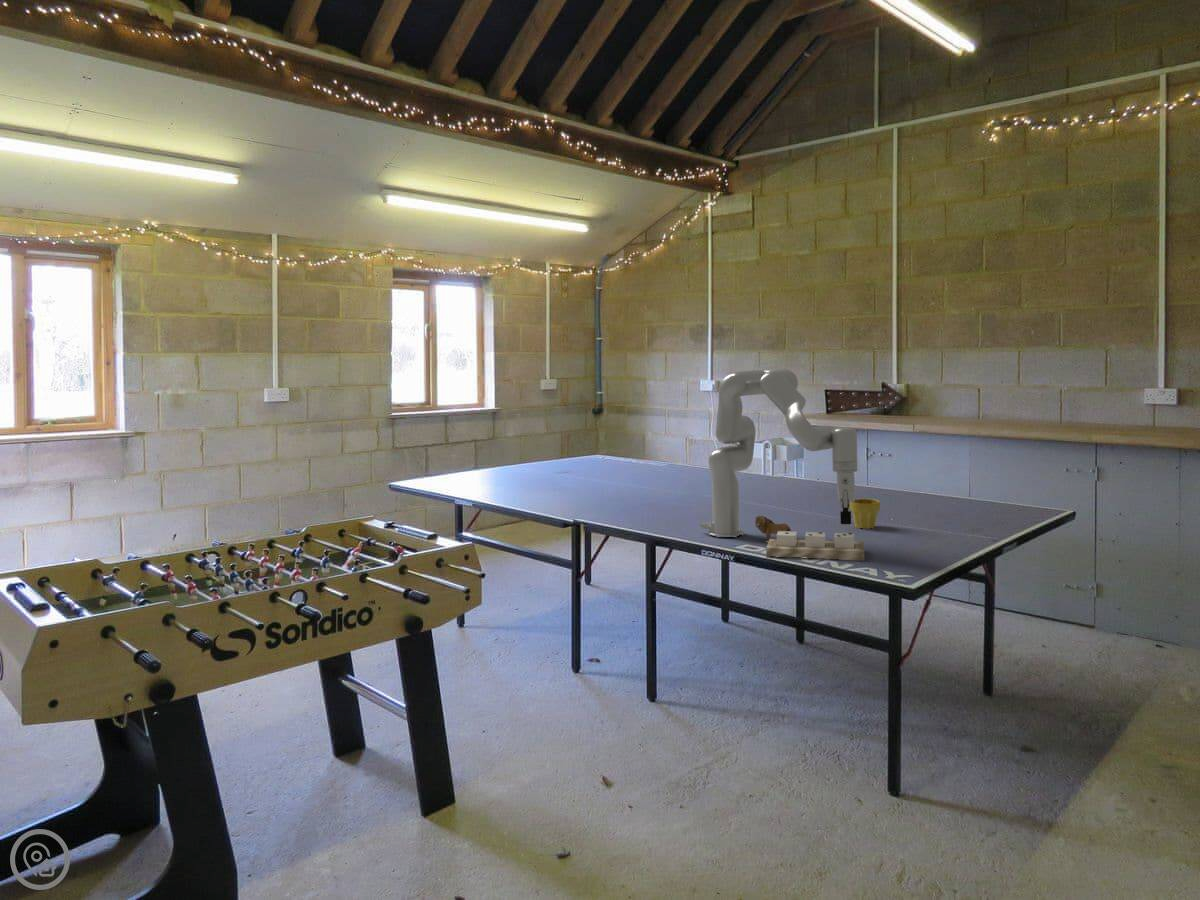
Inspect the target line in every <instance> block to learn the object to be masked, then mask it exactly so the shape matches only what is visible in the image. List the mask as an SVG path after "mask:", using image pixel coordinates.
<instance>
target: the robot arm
mask: <svg viewBox="0 0 1200 900" xmlns="http://www.w3.org/2000/svg"><path fill="white" fill-rule="evenodd" d="M798 380H799V379H798V377H797V375H796V374H795V373H794V372H793V371H791V370H790V369H757V370H756V369H755V370H741V371H736V372H735V371H734V372H732V373H729V374H726V375H725V376H724V377H723V378H722V380H721V381H720V383H719V386H718V403H717V404H718V405H717V406H718V407H717V415H716V424H715V437H716V440H717V441H718V442H719V443H720V444H722V445H723V444H725V445H727V446H721V447H719V448H716V449H714V450H713V451H712V452H711V453H710V455H709V456H708V457H709V458H708V466H709V467H708V468H709V472H710V473H709V474H710V478H711V503H712V504H711V507H712V509H711V510H712V520H711V521H709V522H700V526H699V527H700V528H701V529H703V530H706V529H709V530H708V531H707V533H708V535H709V534H710V535H713V536H720V537H733V536H738V535H742V534H743V533H744V530H743V529H741V528H740V494H739V493H740V488H739V481H738V478H737V476H736V472H741V471H745V470H747V469H749V467H750V466H751V465H752V463H753V459H754V450H755V444H756V443H755V442H756V425H755V423H754V421H753V419H751V417H749V416H747V415H743V410H744V409H743V406H744V405H743V401H742V399H741V397H744V396H746V397H747V396H756V395H766V396H767V398H769V400H770V401H771V402H772V403H773V404H774V405H775V406H776V407H777V409H779V411H780V412H781V413H782V414H783V415H784V417H785V422H786V426H787V429H788V430H789V433H790V435H791V436H792V437H793V438H794V439H795V440H796V442H797V443H799V445H801V447H803V448H804V449H806V450H807V451H809V452H819V451H825V450H831V449H832V472H834V473H836V486H837V487H836V490H837V497H838V503H839V504H840V508H841V509H840V511H839V512H840V525H852V511H851V510H850V502H853V503H855V499H856V498H855V497H856V493H855V492H856V491H855V490H856V489H855V488H856V486H855V485H856V484H855V482H856V480H855V479H856V478H855V473H856V472H858V432H857V431H858V430H857V429H856V428H854V427H850V426H841V427H839V426H834V425H823V426H815V427H814V426H813V424H811V422H809V420H807V418H806V417H805V415H804V413H803V409H804V407H805V406H806V404H807V403H806V402H807V401H806V398H805V396H804V395H802V394H801V392H800V391H798V386H799V381H798ZM729 444H731V445H729ZM710 535H709V536H710ZM743 535H744V534H743ZM743 535H742V536H743Z"/></svg>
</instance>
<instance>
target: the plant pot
mask: <svg viewBox="0 0 1200 900" xmlns="http://www.w3.org/2000/svg"><path fill="white" fill-rule="evenodd" d="M880 505H881V502H880V500H878V499H874V498H873V499H872V498H855V503H853V502H850V511H851V514H852V517H853V523H854V526H855V528H856V527H857V528H856V529H859V528H863V529H862V530H871V529H870V528H872V529H874V528H875V525H876V522H877V517H878V512H879V511H880V508H881V506H880Z"/></svg>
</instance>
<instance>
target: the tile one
mask: <svg viewBox="0 0 1200 900" xmlns="http://www.w3.org/2000/svg"><path fill="white" fill-rule="evenodd" d="M797 533H798V532H797V531H792V530H791V531H778V533H777V534H776V539H777V546H793V547H796V545H797V540H798V539H797V537H798V535H797Z"/></svg>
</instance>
